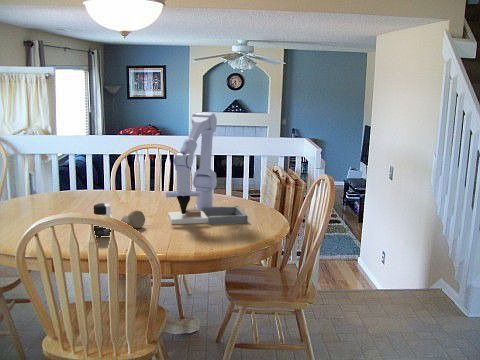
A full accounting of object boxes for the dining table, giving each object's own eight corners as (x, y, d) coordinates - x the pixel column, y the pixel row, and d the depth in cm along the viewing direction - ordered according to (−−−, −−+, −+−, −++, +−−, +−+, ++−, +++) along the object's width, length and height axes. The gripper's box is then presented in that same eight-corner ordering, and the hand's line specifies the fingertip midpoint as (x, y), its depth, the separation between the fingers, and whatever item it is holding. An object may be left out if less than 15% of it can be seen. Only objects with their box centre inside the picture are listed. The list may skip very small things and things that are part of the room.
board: (168, 216, 220) (168, 212, 220) (202, 215, 224) (202, 210, 224) (171, 224, 209) (171, 219, 209) (207, 222, 213) (207, 218, 212)
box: (201, 213, 226) (201, 207, 226) (237, 212, 230) (237, 206, 230) (208, 224, 210) (208, 217, 210) (247, 222, 214) (247, 215, 214)
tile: (184, 213, 219) (184, 208, 218) (198, 212, 220) (198, 208, 220) (186, 217, 213) (186, 212, 213) (200, 216, 214) (200, 211, 214)
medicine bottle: (92, 238, 188) (91, 206, 185) (93, 233, 194) (92, 202, 192) (112, 237, 189) (112, 206, 187) (112, 232, 196) (111, 201, 194)
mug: (127, 223, 210) (139, 203, 207) (139, 238, 205) (151, 218, 202) (113, 222, 204) (124, 202, 201) (125, 237, 199) (136, 217, 196)
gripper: (166, 184, 207) (167, 216, 210) (202, 183, 211) (201, 215, 213) (165, 180, 214) (165, 212, 217) (199, 180, 218) (199, 211, 220)
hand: (183, 213), depth 216 cm, fingers closed
